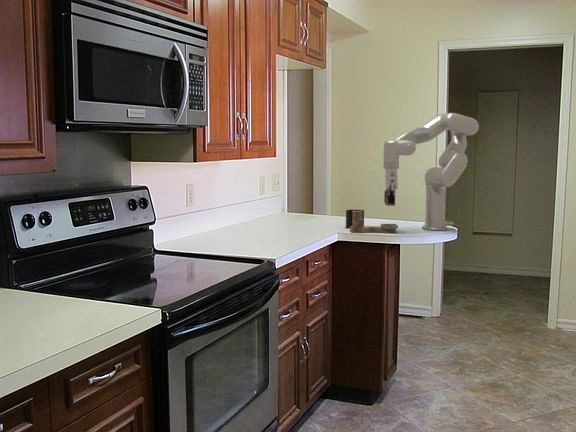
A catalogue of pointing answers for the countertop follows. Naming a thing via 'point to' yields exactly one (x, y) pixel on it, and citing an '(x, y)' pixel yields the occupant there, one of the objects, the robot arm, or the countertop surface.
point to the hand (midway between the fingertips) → (390, 202)
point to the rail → (359, 228)
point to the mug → (351, 217)
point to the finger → (387, 198)
